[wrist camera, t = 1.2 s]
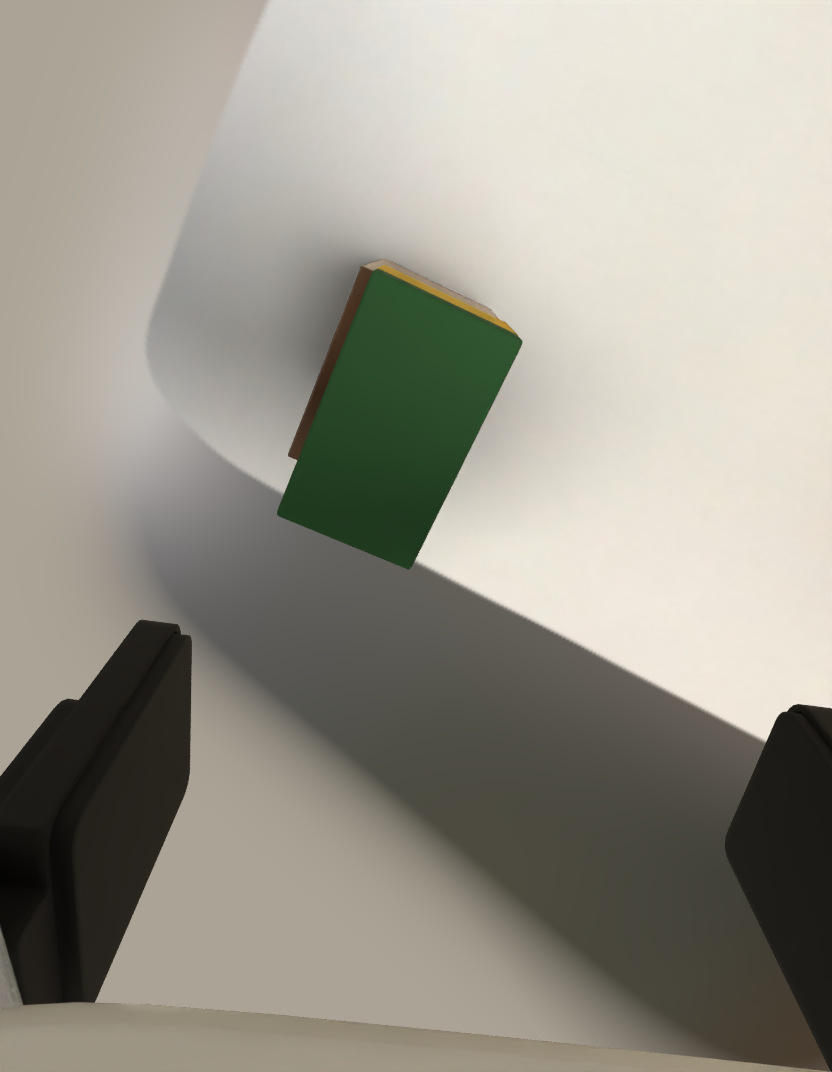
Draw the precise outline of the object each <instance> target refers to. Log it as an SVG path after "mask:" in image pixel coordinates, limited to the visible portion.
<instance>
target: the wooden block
mask: <svg viewBox="0 0 832 1072" xmlns="http://www.w3.org/2000/svg"><path fill="white" fill-rule="evenodd" d="M382 265H387V266H389V267H391V268H393V269H395V270H397V271H399V272H401V273H403V274H405V275H407V276H410V277H412V278H414V279H416V280H418V281H420V282H422V283H424V284H426V285H428V286H430V287H432V288H435V289H437V290H439V291H441V292H443V293H445V294H447V295H449V296H451V297H453V298H455V299H458V300H460V301H462V302H464V303H466V304H468V305H470V306H472V307H474V308H476V309H478V310H481V311H483V312H485V313H487V314H489V315H491V316H493V317H495V318H497V319H499V318H498V317H497V316H496V315H495V314H494V313H493V312H492V310H491V309H488V308H486V307H484V306H482V305H480V304H478V303H476V302H474V301H472V300H470V299H468V298H466V297H464V296H461V295H459V294H457V293H455V292H453V291H451V290H449V289H447V288H445V287H443V286H441V285H439V284H436V283H434V282H432V281H430V280H428V279H426V278H424V277H422V276H420V275H418V274H416V273H414V272H411V271H409V270H407V269H405V268H403V267H401V266H399V265H397V264H395V263H393V262H391V261H389V260H386V259H381V260H378V261H375V262H372V263H369V264H366V265H363V266H361V268H360V270H359V273H358V275H357V278H356V281H355V283H354V286H353V288H352V291H351V293H350V296H349V299H348V301H347V304H346V306H345V309H344V311H343V314H342V317H341V319H340V322H339V324H338V327H337V329H336V332H335V335H334V337H333V340H332V342H331V345H330V347H329V350H328V353H327V355H326V358H325V360H324V363H323V366H322V368H321V371H320V373H319V376H318V378H317V381H316V384H315V386H314V389H313V391H312V394H311V396H310V399H309V402H308V404H307V407H306V409H305V412H304V414H303V417H302V420H301V422H300V425H299V427H298V430H297V432H296V435H295V438H294V440H293V443H292V445H291V448H290V450H289V453H288V456H289V457H291V458H293V459H296V460H298V458H299V455H300V452H301V450H302V447H303V445H304V442H305V440H306V437H307V435H308V432H309V430H310V427H311V425H312V422H313V420H314V417H315V415H316V412H317V409H318V407H319V404H320V402H321V399H322V397H323V394H324V392H325V389H326V387H327V384H328V382H329V379H330V377H331V374H332V372H333V369H334V366H335V364H336V361H337V359H338V356H339V354H340V351H341V349H342V346H343V344H344V341H345V339H346V336H347V334H348V331H349V329H350V326H351V323H352V321H353V318H354V316H355V313H356V311H357V308H358V306H359V303H360V301H361V298H362V296H363V293H364V291H365V288H366V286H367V283H368V280H369V278H370V275H371V273H372V272H373V271H374V270H376V268H378V267H380V266H382ZM499 320H500V319H499Z"/></svg>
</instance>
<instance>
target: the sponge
mask: <svg viewBox="0 0 832 1072" xmlns="http://www.w3.org/2000/svg"><path fill="white" fill-rule="evenodd" d="M521 345H522V340H521V339H520V338H519V337H518V335H517V334H516V333H515V332H514V331H513V330H512V329H511V327H510V326H509V325H508V324H507V323H506V322H503V321H501V320H499V319H497V318H495V317H493V316H491V315H489V314H487V313H485V312H483V311H481V310H478V309H476V308H474V307H472V306H470V305H468V304H466V303H464V302H462V301H460V300H458V299H455V298H453V297H451V296H449V295H447V294H445V293H443V292H441V291H439V290H437V289H435V288H432V287H430V286H428V285H426V284H424V283H422V282H420V281H418V280H416V279H414V278H412V277H410V276H407V275H405V274H403V273H401V272H399V271H397V270H395V269H393V268H391V267H389V266H387V265H382V266H380V267H378V268H376V270H374V271H373V272H372V273H371V275H370V278H369V280H368V283H367V286H366V288H365V291H364V293H363V296H362V298H361V301H360V303H359V306H358V308H357V311H356V313H355V316H354V318H353V321H352V323H351V326H350V329H349V331H348V334H347V336H346V339H345V341H344V344H343V346H342V349H341V351H340V354H339V356H338V359H337V361H336V364H335V366H334V369H333V372H332V374H331V377H330V379H329V382H328V384H327V387H326V389H325V392H324V394H323V397H322V399H321V402H320V404H319V407H318V409H317V412H316V415H315V417H314V420H313V422H312V425H311V427H310V430H309V432H308V435H307V437H306V440H305V442H304V445H303V447H302V450H301V452H300V455H299V458H298V460H297V463H296V465H295V468H294V470H293V473H292V475H291V478H290V480H289V483H288V485H287V488H286V490H285V493H284V495H283V498H282V501H281V503H280V506H279V508H278V511H277V515H278V516H280V517H282V518H285V519H287V520H289V521H292V522H294V523H297V524H299V525H302V526H304V527H306V528H309V529H311V530H314V531H316V532H318V533H321V534H323V535H326V536H329V537H331V538H333V539H335V540H338V541H341V542H343V543H345V544H348V545H350V546H352V547H355V548H357V549H360V550H362V551H365V552H367V553H370V554H372V555H374V556H377V557H379V558H382V559H384V560H386V561H389V562H391V563H394V564H396V565H399V566H402V567H404V568H406V569H410V568H411V567H412V565H413V563H414V561H415V559H416V557H417V555H418V553H419V551H420V549H421V547H422V545H423V543H424V541H425V539H426V537H427V535H428V533H429V531H430V529H431V527H432V525H433V523H434V521H435V519H436V517H437V515H438V513H439V511H440V509H441V507H442V505H443V503H444V501H445V499H446V497H447V495H448V493H449V491H450V489H451V487H452V485H453V483H454V481H455V479H456V477H457V475H458V473H459V471H460V469H461V467H462V464H463V462H464V460H465V458H466V456H467V454H468V452H469V450H470V448H471V446H472V444H473V442H474V440H475V438H476V436H477V434H478V432H479V430H480V428H481V426H482V424H483V422H484V420H485V418H486V416H487V414H488V412H489V410H490V408H491V406H492V404H493V402H494V400H495V398H496V396H497V394H498V392H499V390H500V388H501V386H502V384H503V382H504V380H505V378H506V376H507V374H508V372H509V370H510V368H511V366H512V364H513V362H514V360H515V358H516V356H517V354H518V352H519V349H520V347H521Z"/></svg>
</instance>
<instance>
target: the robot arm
mask: <svg viewBox="0 0 832 1072" xmlns="http://www.w3.org/2000/svg"><path fill="white" fill-rule="evenodd" d="M191 664H192V641H191V637H190V636H189V635H181V631H180V628H179V626H178V625H177V624H171V623H163V622H155V621H147V620H139V622H137V623H136V625H135V626H134V627H133V629H132V630H131V631H130V633H129V634H128V635H127V636H126V638H125V639H124V640H123V642H122V643H121V645H120V646H119V647H118V649H117V650H116V651H115V652H114V654H113V655H112V657H111V658H110V659H109V661H108V662H107V663H106V664H105V666H104V667H103V669H102V670H101V671H100V673H99V674H98V675H97V677H96V678H95V679H94V681H93V682H92V683H91V685H90V686H89V687H88V689H87V690H86V691H85V693H84V694H83V695H82V697H81V698H80V699H79V700H73V699H66V700H63V701H61V702H60V703H59V704H58V705H57V706H56V707H55V708H54V709H53V710H52V712H51V713H50V714H49V715H48V717H47V718H46V719H45V721H44V722H43V723H42V724H41V726H40V727H39V728H38V729H37V731H36V732H35V733H34V734H33V736H32V737H31V738H30V739H29V741H28V742H27V743H26V745H25V746H24V747H23V748H22V750H21V751H20V752H19V754H18V755H17V756H16V757H15V759H14V760H13V761H12V762H11V764H10V765H9V766H8V767H7V769H6V770H5V771H4V772H3V774H2V775H1V776H0V1072H828V1071H819V1070H810V1069H801V1068H792V1067H783V1066H774V1065H765V1064H756V1063H747V1062H738V1061H728V1060H719V1059H710V1058H701V1057H690V1056H682V1055H672V1054H662V1053H652V1052H643V1051H634V1050H625V1049H615V1048H605V1047H595V1046H586V1045H576V1044H567V1043H557V1042H548V1041H538V1040H528V1039H519V1038H509V1037H499V1036H489V1035H479V1034H470V1033H459V1032H448V1031H439V1030H429V1029H418V1028H408V1027H398V1026H388V1025H378V1024H367V1023H358V1022H347V1021H336V1020H327V1019H317V1018H307V1017H296V1016H286V1015H275V1014H262V1013H250V1012H237V1011H225V1010H212V1009H199V1008H187V1007H175V1006H174V1007H173V1006H162V1005H150V1004H120V1003H95V1001H96V998H97V996H98V994H99V992H100V989H101V987H102V985H103V982H104V980H105V978H106V975H107V973H108V971H109V968H110V966H111V964H112V962H113V959H114V957H115V955H116V952H117V950H118V948H119V945H120V943H121V941H122V938H123V936H124V934H125V931H126V929H127V927H128V925H129V922H130V920H131V918H132V915H133V913H134V911H135V908H136V906H137V904H138V901H139V899H140V897H141V894H142V892H143V890H144V888H145V885H146V883H147V880H148V878H149V876H150V874H151V871H152V869H153V867H154V864H155V862H156V860H157V857H158V855H159V853H160V850H161V848H162V846H163V844H164V841H165V839H166V837H167V834H168V832H169V830H170V827H171V825H172V823H173V820H174V818H175V816H176V813H177V811H178V809H179V807H180V804H181V801H182V800H183V797H184V795H185V792H186V789H187V785H188V780H189V774H190V728H191V726H190V725H191ZM725 850H726V855H727V858H728V861H729V863H730V865H731V867H732V869H733V871H734V873H735V875H736V877H737V879H738V881H739V883H740V885H741V887H742V889H743V892H744V894H745V896H746V898H747V900H748V902H749V904H750V906H751V908H752V910H753V912H754V914H755V916H756V918H757V920H758V922H759V925H760V927H761V929H762V931H763V933H764V935H765V937H766V939H767V941H768V943H769V945H770V947H771V949H772V951H773V953H774V955H775V958H776V960H777V962H778V964H779V966H780V968H781V970H782V972H783V974H784V976H785V978H786V980H787V982H788V984H789V986H790V988H791V991H792V992H793V995H794V997H795V999H796V1001H797V1003H798V1005H799V1007H800V1009H801V1011H802V1013H803V1015H804V1017H805V1019H806V1021H807V1024H808V1025H809V1027H810V1030H811V1032H812V1034H813V1036H814V1038H815V1040H816V1042H817V1044H818V1046H819V1048H820V1050H821V1052H822V1054H823V1056H824V1059H825V1060H826V1063H827V1065H828V1067H829V1069H830V1071H831V1072H832V709H831V708H825V707H817V706H809V705H801V704H797V705H793V706H792V707H791V708H789V710H788V711H787V712H782V713H781V714H780V715H779V716H778V717H777V719H776V721H775V723H774V726H773V728H772V730H771V733H770V735H769V737H768V740H767V742H766V744H765V746H764V749H763V751H762V754H761V756H760V758H759V760H758V763H757V765H756V767H755V770H754V772H753V774H752V777H751V779H750V781H749V783H748V786H747V788H746V790H745V793H744V795H743V797H742V800H741V802H740V804H739V807H738V809H737V811H736V813H735V816H734V818H733V820H732V823H731V825H730V827H729V830H728V832H727V835H726V839H725Z"/></svg>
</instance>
